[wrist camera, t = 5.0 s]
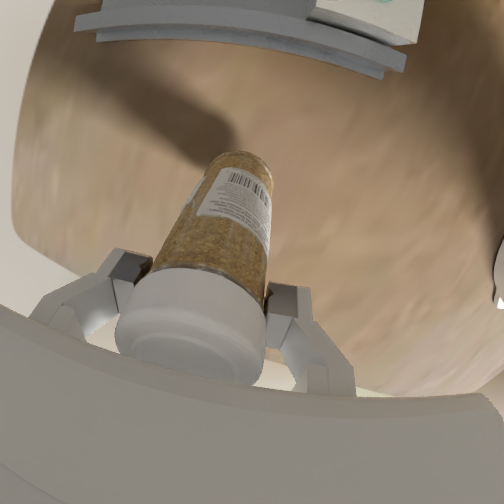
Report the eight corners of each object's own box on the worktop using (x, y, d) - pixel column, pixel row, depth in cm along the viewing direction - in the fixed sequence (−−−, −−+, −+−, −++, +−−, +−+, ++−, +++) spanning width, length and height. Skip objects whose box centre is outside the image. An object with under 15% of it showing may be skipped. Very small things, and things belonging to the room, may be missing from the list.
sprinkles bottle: (191, 173, 19) (85, 339, 8) (248, 135, 17) (183, 290, 6) (232, 224, 21) (184, 408, 10) (288, 192, 19) (293, 388, 8)
